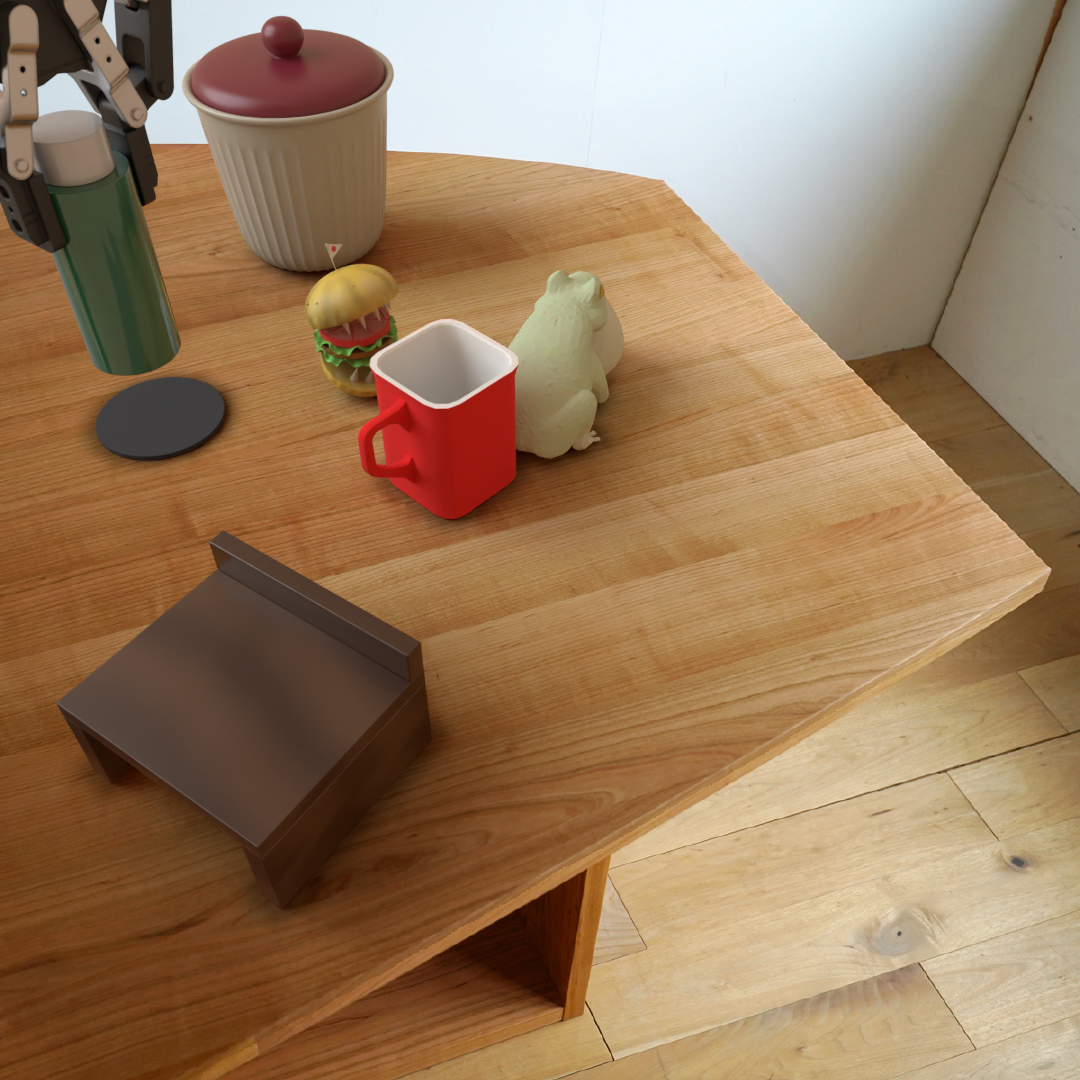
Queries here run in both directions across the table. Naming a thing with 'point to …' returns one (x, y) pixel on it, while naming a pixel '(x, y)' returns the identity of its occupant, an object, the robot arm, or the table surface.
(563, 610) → the table surface
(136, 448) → the coaster
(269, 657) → the shelf
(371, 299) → the hamburger
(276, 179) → the canister
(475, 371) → the mug
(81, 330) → the bottle
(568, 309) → the figurine
